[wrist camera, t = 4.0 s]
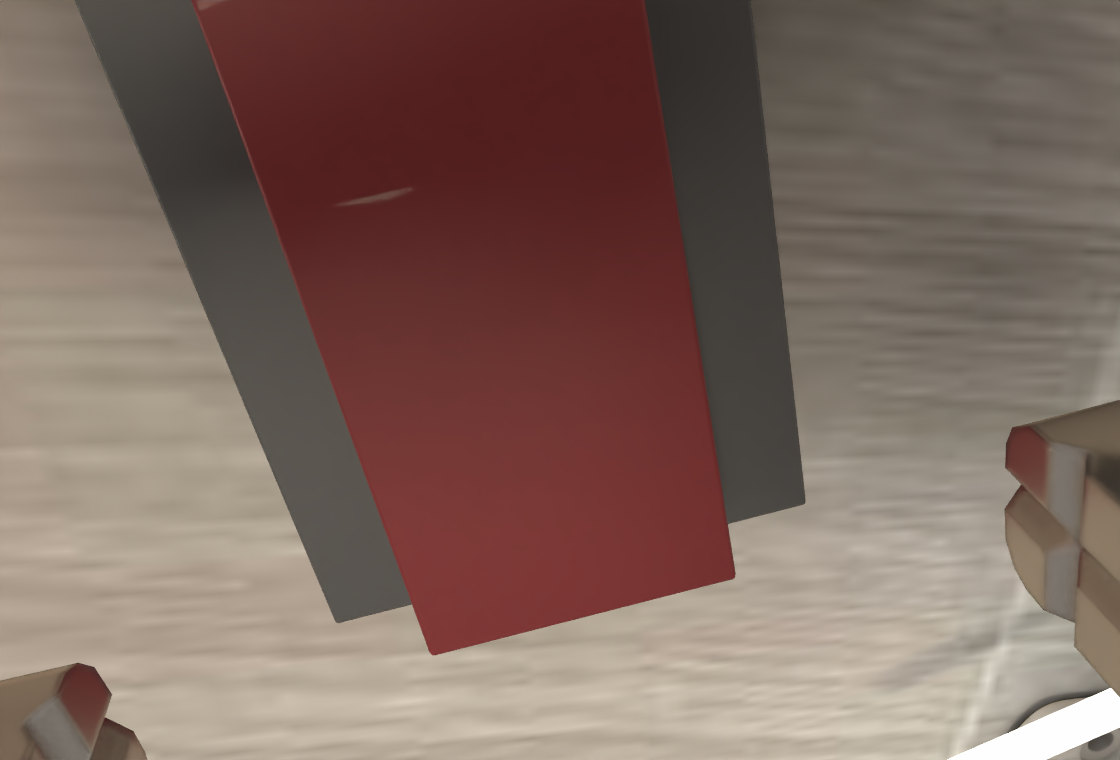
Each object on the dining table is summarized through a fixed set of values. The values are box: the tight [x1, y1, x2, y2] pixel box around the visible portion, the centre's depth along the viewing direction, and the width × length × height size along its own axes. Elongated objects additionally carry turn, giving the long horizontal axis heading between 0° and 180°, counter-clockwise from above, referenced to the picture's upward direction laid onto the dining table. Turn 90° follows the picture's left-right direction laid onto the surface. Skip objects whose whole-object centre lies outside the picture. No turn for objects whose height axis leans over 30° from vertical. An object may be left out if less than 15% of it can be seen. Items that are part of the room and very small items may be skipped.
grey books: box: [75, 0, 805, 623], centre depth 20 cm, size 16×11×5 cm
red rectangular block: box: [191, 0, 736, 655], centre depth 17 cm, size 14×6×2 cm, turn 12°
